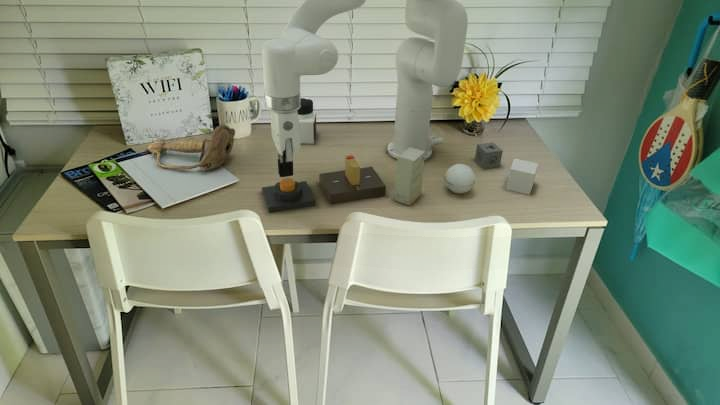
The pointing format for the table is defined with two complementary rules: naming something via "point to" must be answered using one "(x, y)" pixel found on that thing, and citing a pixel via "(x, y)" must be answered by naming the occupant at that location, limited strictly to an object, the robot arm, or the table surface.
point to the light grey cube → (521, 176)
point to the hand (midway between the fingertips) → (285, 174)
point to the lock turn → (352, 170)
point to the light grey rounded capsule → (460, 178)
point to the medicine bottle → (307, 121)
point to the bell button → (287, 185)
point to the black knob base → (288, 197)
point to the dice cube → (488, 155)
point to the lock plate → (343, 191)
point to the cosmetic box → (409, 175)
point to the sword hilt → (199, 149)
